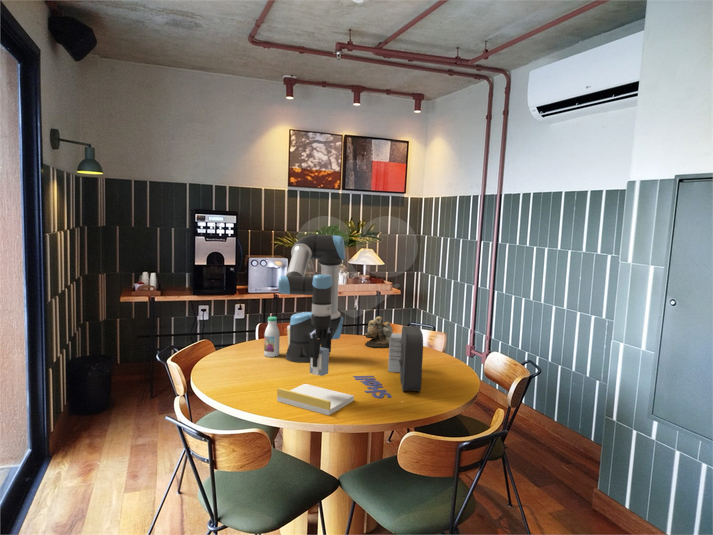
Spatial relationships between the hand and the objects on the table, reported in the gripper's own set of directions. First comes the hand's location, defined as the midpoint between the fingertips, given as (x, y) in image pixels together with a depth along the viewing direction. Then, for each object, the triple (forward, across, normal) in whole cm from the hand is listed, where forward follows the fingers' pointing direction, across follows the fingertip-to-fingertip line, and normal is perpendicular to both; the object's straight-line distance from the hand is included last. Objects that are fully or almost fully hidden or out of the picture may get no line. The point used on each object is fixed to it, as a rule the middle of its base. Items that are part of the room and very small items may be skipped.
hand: (319, 372), depth 190 cm
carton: (0, 0, 0) cm, 0 cm away
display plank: (+11, -2, 0) cm, 11 cm away
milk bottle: (+11, +37, +55) cm, 67 cm away
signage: (+11, +26, -10) cm, 30 cm away
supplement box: (+11, +55, -9) cm, 57 cm away
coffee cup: (+11, +57, +55) cm, 80 cm away
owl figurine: (+11, +90, +20) cm, 93 cm away
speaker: (+11, +37, -22) cm, 45 cm away
